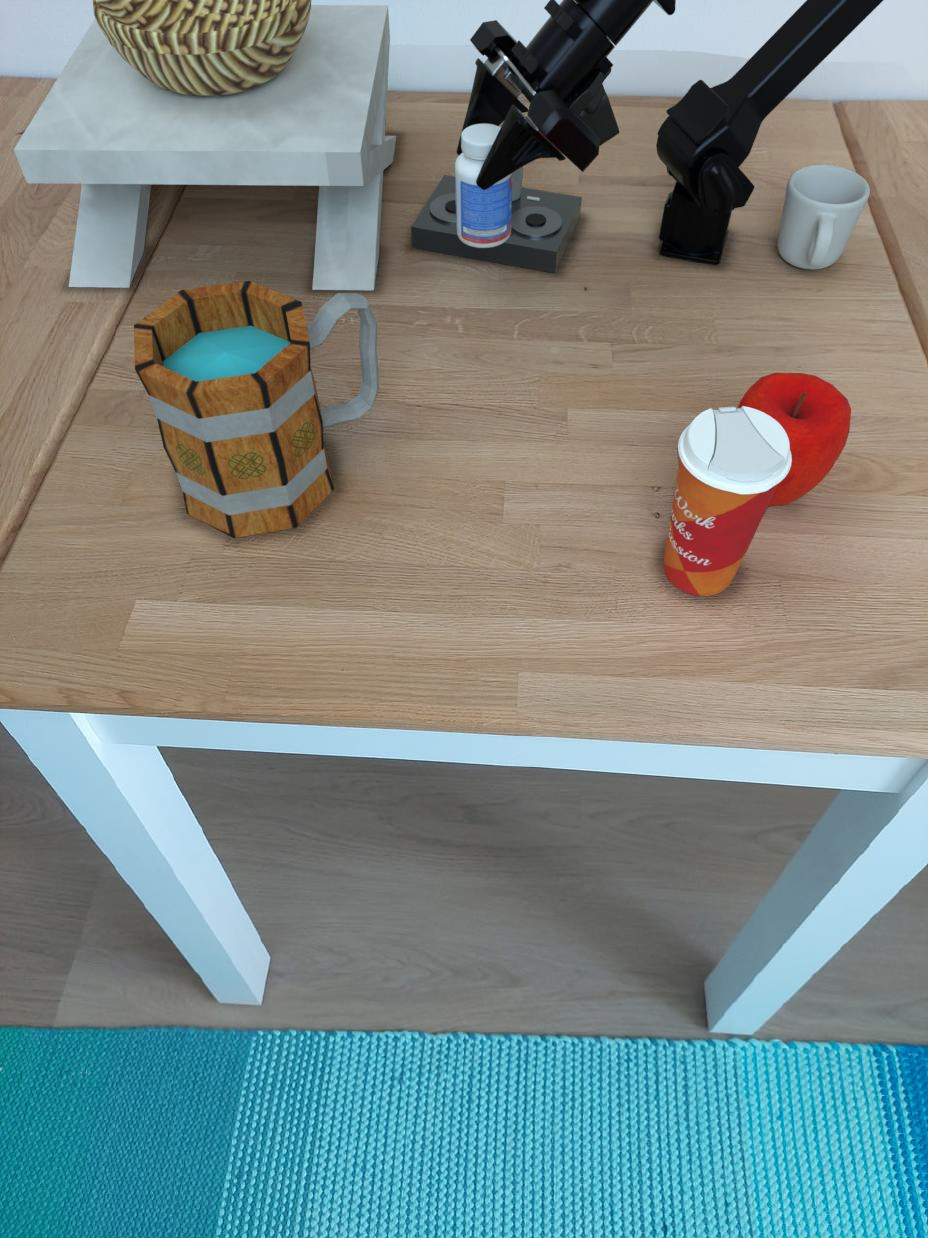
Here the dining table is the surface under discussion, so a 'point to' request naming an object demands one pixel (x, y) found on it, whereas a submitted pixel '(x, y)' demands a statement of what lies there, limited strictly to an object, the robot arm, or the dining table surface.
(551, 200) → the hob
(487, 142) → the pill bottle
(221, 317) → the mug
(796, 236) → the cup
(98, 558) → the dining table surface
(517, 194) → the hob knob
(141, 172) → the grey stone stand
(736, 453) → the paper cup
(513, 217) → the burners
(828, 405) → the apple
